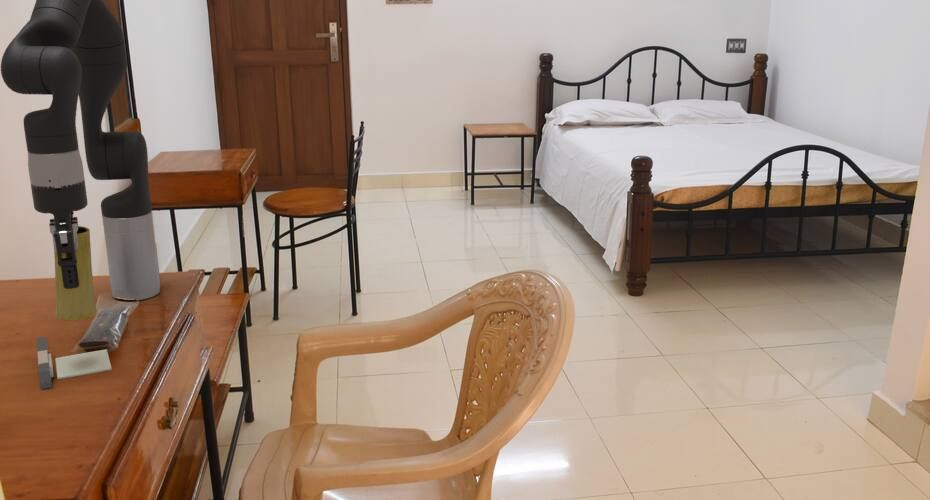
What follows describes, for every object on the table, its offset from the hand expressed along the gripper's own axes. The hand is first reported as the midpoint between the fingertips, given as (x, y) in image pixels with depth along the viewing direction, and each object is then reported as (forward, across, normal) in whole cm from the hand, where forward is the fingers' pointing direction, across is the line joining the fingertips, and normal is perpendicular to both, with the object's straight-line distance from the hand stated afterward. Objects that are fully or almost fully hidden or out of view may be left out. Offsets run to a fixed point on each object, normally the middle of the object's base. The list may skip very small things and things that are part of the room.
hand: (71, 280), depth 129 cm
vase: (+6, 0, 0) cm, 6 cm away
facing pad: (+15, 0, 0) cm, 15 cm away
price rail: (+15, 0, -6) cm, 16 cm away
